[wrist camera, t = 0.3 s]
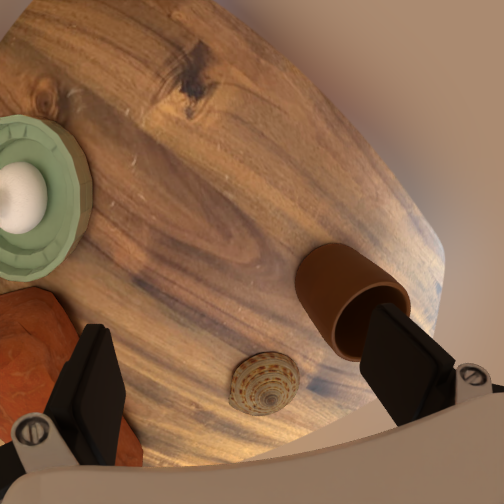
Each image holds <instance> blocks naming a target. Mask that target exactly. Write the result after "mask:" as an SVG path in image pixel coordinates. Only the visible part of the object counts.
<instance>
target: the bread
mask: <svg viewBox="0 0 504 504" xmlns="http://www.w3.org/2000/svg"><path fill="white" fill-rule="evenodd" d="M78 340H79V337H78V335H77V333H76V330H75V328H74V326H73V324H72V323H71V321H70V319H69V318H68V316H67V314H66V313H65V311H64V309H63V308H62V306H61V305H60V303H59V302H58V301H57V299H56V298H55V297H54V295H53V294H52V292H49V291H46V290H42V289H39V288H36V287H31V288H27V289H22V290H18V291H14V292H10V293H6V294H2V295H0V438H1V439H2V440H3V441H4V442H5V444H6V443H8V442H10V441H12V438H11V428H12V426H13V424H14V422H15V421H16V420H17V419H18V418H19V417H21V416H23V415H25V414H28V413H34V412H38V413H42V414H43V412H44V409H45V407H46V404H47V402H48V399H49V397H50V395H51V392H52V390H53V388H54V385H55V383H56V381H57V378H58V376H59V374H60V372H61V370H62V367H63V365H64V364H65V362H66V361H69V359H70V357H71V355H72V353H73V351H74V349H75V346H76V344H77V342H78ZM142 462H143V449H142V447H141V445H140V442H139V440H138V438H137V437H136V436H135V434H134V433H133V431H132V430H131V428H130V427H129V425H128V424H127V422H126V421H125V419H124V417H123V416H122V420H121V426H120V432H119V439H118V446H117V453H116V460H115V466H126V467H142Z"/></svg>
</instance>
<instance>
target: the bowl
mask: <svg viewBox="0 0 504 504" xmlns="http://www.w3.org/2000/svg"><path fill="white" fill-rule="evenodd" d="M13 162H27V163H29V164H31V165H33V166H34V167H36V168H37V169H38V170H39V171H40V173H41V174H42V176H43V178H44V180H45V183H46V187H47V195H48V200H47V207H46V211H45V214H44V216H43V218H42V220H41V221H40V222H39V224H38V225H37V226H36V227H35V228H34V229H32V230H30V231H28V232H26V233H23V234H12V233H9V232H6V231H4V230H3V229H2V228H0V277H2V278H4V279H6V280H8V281H19V282H30V281H33V280H36V279H39V278H42V277H45V276H47V275H48V274H49V273H50V272H51V271H53V270H54V269H55V268H56V267H57V266H58V265H59V264H61V263H62V262H63V261H64V260H65V259H66V258H67V257H68V256H69V255H70V254H71V253H72V252H73V251H74V250H75V248H76V247H77V245H78V243H79V241H80V240H81V238H82V236H83V235H84V233H85V232H86V229H87V225H88V221H89V218H90V214H91V210H92V206H93V201H92V178H91V174H90V171H89V167H88V163H87V160H86V156H85V154H84V152H83V151H82V149H81V148H80V146H79V144H78V143H77V141H76V140H75V138H74V136H73V135H72V134H71V133H70V132H68V131H67V130H66V129H64V128H63V127H62V126H61V125H59V124H58V123H57V122H55V121H52V120H48V119H45V118H41V117H38V116H30V115H22V114H18V115H12V116H6V117H1V118H0V170H1V169H2V168H3V167H4V166H6V165H8V164H10V163H13Z"/></svg>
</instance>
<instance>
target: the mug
mask: <svg viewBox="0 0 504 504" xmlns="http://www.w3.org/2000/svg"><path fill="white" fill-rule="evenodd" d="M295 289H296V294H297V297H298V299H299V301H300V303H301V304H302V306H303V308H304V309H305V311H306V312H307V314H308V315H309V317H310V319H311V320H312V322H313V323H314V325H315V326H316V328H317V329H318V331H319V332H320V334H321V335H322V337H323V338H324V340H325V341H326V342H327V344H328V345H329V346H330V347H331V348H332V349H333V351H334V352H335V353H336V354H337V355H338V356H339V357H341V358H343V359H345V360H348V361H352V362H360V361H361V357H362V353H363V349H364V345H365V341H366V337H367V332H368V328H369V323H370V318H371V314H372V311H373V309H375V308H376V306H377V305H378V304H385V303H393V304H394V305H395V306H396V307H398V308H399V309H400V310H401V311H402V312H403V313H404V314H406V315H407V316H408V317H410V312H411V304H410V299H409V296H408V293H407V291H406V290H405V289H404V287H403V286H402V285H401V284H399V283H398V282H397V281H396V280H395V279H394V278H393V277H392V276H391V275H390V274H388V273H387V272H386V271H384V270H383V269H381V268H380V267H379V266H377V265H376V264H375V263H373V262H372V261H370V260H369V259H367V258H366V257H364V256H363V255H361V254H360V253H359V252H357V251H356V250H354V249H353V248H351V247H349V246H346V245H343V244H327V245H324V246H321V247H319V248H317V249H315V250H314V251H313V252H311V253H310V254H309V255H308V256H307V257H306V258H305V259H304V260H303V262H302V263H301V265H300V267H299V269H298V271H297V274H296V279H295Z"/></svg>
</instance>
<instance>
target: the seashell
mask: <svg viewBox="0 0 504 504" xmlns="http://www.w3.org/2000/svg"><path fill="white" fill-rule="evenodd" d="M298 387H299V370H298V368H297V367H296V364H295V362H294V361H293V360H291V359H290V358H289V357H287V356H285V355H283V354H279V353H263V354H259V355H256V356H254V357H252V358H250V359H248V360H247V361H245V362H244V363H242V364H241V365H240V366H239V367H238V369H237V370H236V371H235V373H234V375H233V379H232V383H231V395H230V397H229V404H230V405H231V406H232V407H233V408H235V409H237V410H239V411H241V412H243V413H246V414H249V415H252V416H266V415H269V414H272V413H274V412H277V411H279V410H281V409H282V408H284V407H285V406H286V405H287V404H289V403H290V402H291V401H292V399H293V398H294V397H295V395H296V393H297V390H298Z"/></svg>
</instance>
